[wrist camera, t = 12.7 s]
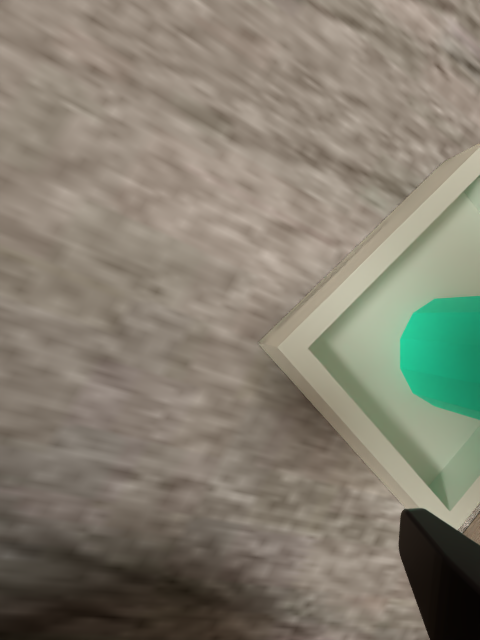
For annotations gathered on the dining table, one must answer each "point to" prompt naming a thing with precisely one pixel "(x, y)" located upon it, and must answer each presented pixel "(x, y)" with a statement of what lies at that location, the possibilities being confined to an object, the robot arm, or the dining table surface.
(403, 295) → the tray
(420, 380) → the candle
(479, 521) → the collar
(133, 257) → the dining table surface
